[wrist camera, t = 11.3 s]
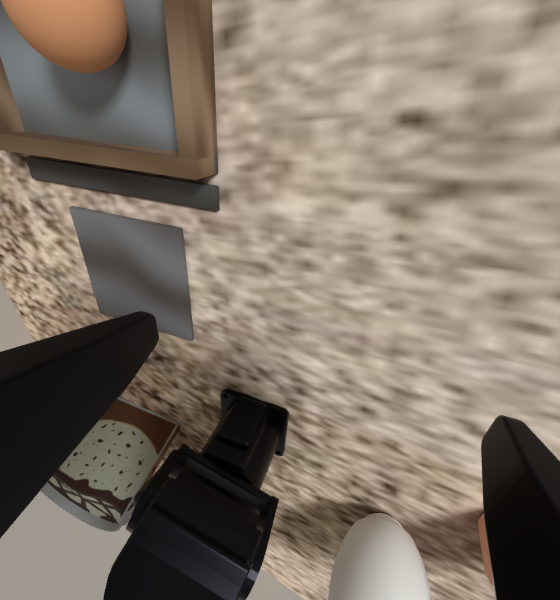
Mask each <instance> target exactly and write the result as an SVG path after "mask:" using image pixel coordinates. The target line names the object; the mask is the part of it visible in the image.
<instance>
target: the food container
mask: <svg viewBox="0 0 560 600" xmlns="http://www.w3.org/2000/svg"><path fill="white" fill-rule="evenodd" d="M179 427H180V423H178V422H176V421H173V420H171V419H169V418H166V417H164V416H162V415H159V414H157V413H155V412H152V411H150V410H148V409H145V408H143V407H141V406H138V405H136V404H134V403H131V402H129V401H127V400H124V399H122V398H120V397H118V399H117V400H116V401H115V402H114V403H113V404H112V406H111V407H110V408H109V409H108V410H107V412H106V413H105V414H104V415H103V416H102V418H101V419H100V420H99V421H98V422H97V424H96V425H95V426H94V427H93V428H92V430H91V431H90V432H89V433H88V434H87V435H86V437H85V438H84V439H83V440H82V441H81V443H80V444H79V445H78V446H77V447H76V449H75V450H74V451H73V452H72V453H71V455H70V456H69V457H68V458H67V459H66V460H65V462H64V463H63V464H62V465H61V466H60V468H59V469H58V470H57V471H56V472H55V474H54V475H53V476H52V477H51V478H50V480H49V481H48V482H47V483H46V484H45V486H44V487H43V488H42V489H41V490H40V491H41V492H42V493H44V494H45V495H46V496H47V497H48V498H50V499H51V500H52V501H53V502H54V503H56V504H57V505H58V506H60V507H61V508H63V509H64V510H66V511H67V512H68V513H70V514H71V515H73V516H75V517H76V518H78V519H80V520H81V521H83V522H85V523H87V524H89V525H91V526H94V527H96V528H99V529H101V530H105V531H111V532H112V531H117V530H119V529H120V527H121V526H123V525H125V524H126V523H128V522H129V520H130V518H131V514H132V512H133V510H134V501H133V499H134V497H135V495H136V494H137V492H138V491H139V490H140V489H141V488H142V487H143V486H144V485H145V484H146V483H147V481H148V480H149V479H150V478H151V477H152V475H153V473H154V472H155V470H156V468H157V467H158V465H159V463H160V461H161V460H162V458H163V456H164V455H165V453H166V451H167V450H168V448H169V446H170V444H171V443H172V441H173V439H174V438H175V436H176V434H177V433H178V431H179Z"/></svg>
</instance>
